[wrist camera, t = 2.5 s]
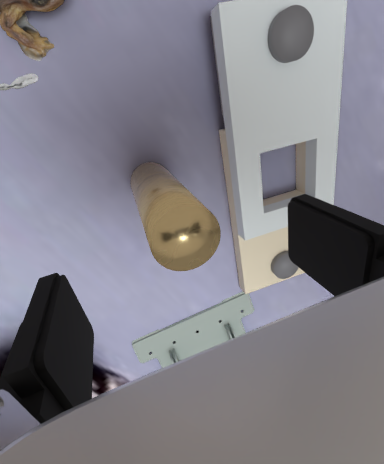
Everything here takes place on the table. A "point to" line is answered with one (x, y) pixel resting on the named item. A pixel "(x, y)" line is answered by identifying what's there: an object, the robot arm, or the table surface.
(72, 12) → the table surface
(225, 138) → the white peg board
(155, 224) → the brass pin
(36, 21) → the table surface
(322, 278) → the robot arm
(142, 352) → the metal bracket
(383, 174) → the table surface
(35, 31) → the frog figurine
